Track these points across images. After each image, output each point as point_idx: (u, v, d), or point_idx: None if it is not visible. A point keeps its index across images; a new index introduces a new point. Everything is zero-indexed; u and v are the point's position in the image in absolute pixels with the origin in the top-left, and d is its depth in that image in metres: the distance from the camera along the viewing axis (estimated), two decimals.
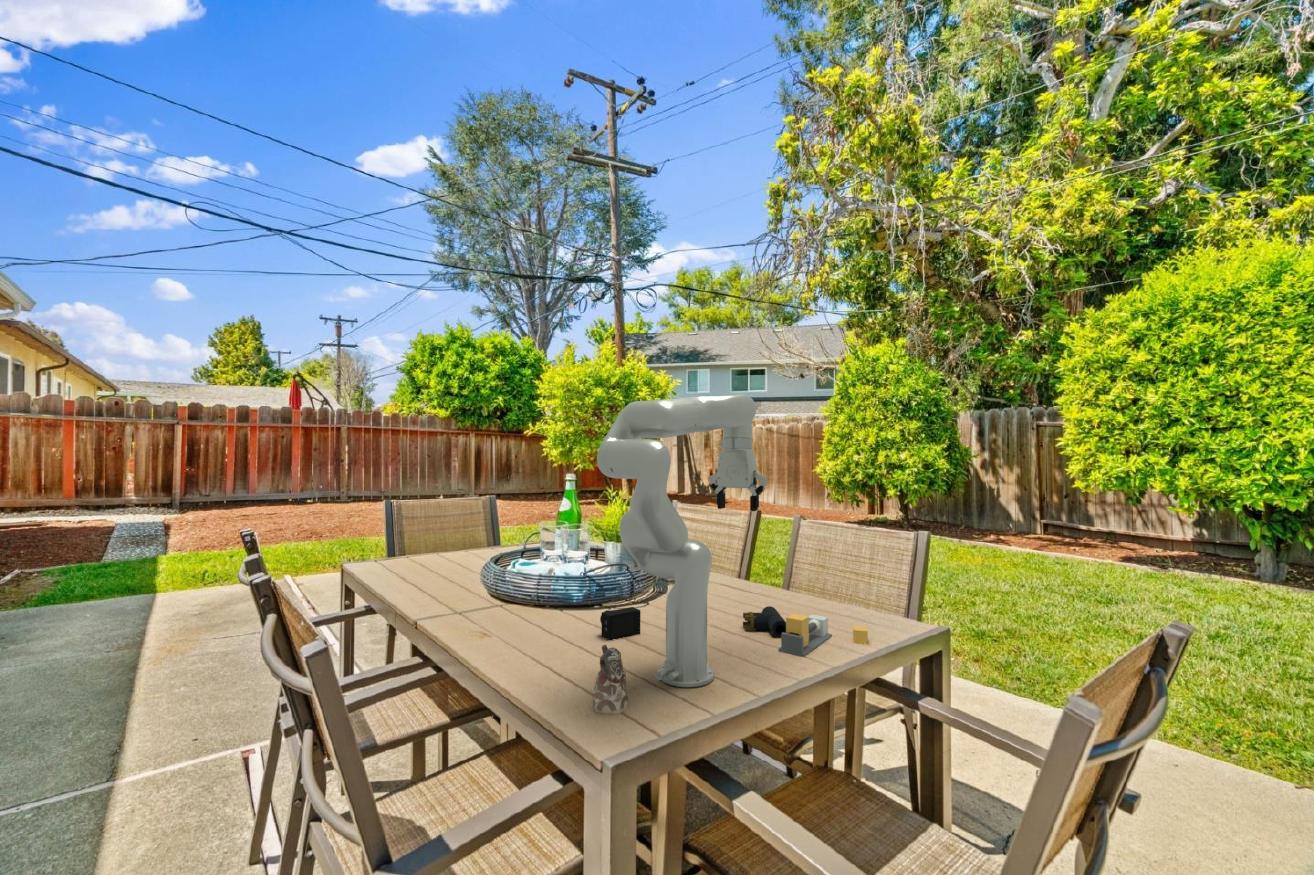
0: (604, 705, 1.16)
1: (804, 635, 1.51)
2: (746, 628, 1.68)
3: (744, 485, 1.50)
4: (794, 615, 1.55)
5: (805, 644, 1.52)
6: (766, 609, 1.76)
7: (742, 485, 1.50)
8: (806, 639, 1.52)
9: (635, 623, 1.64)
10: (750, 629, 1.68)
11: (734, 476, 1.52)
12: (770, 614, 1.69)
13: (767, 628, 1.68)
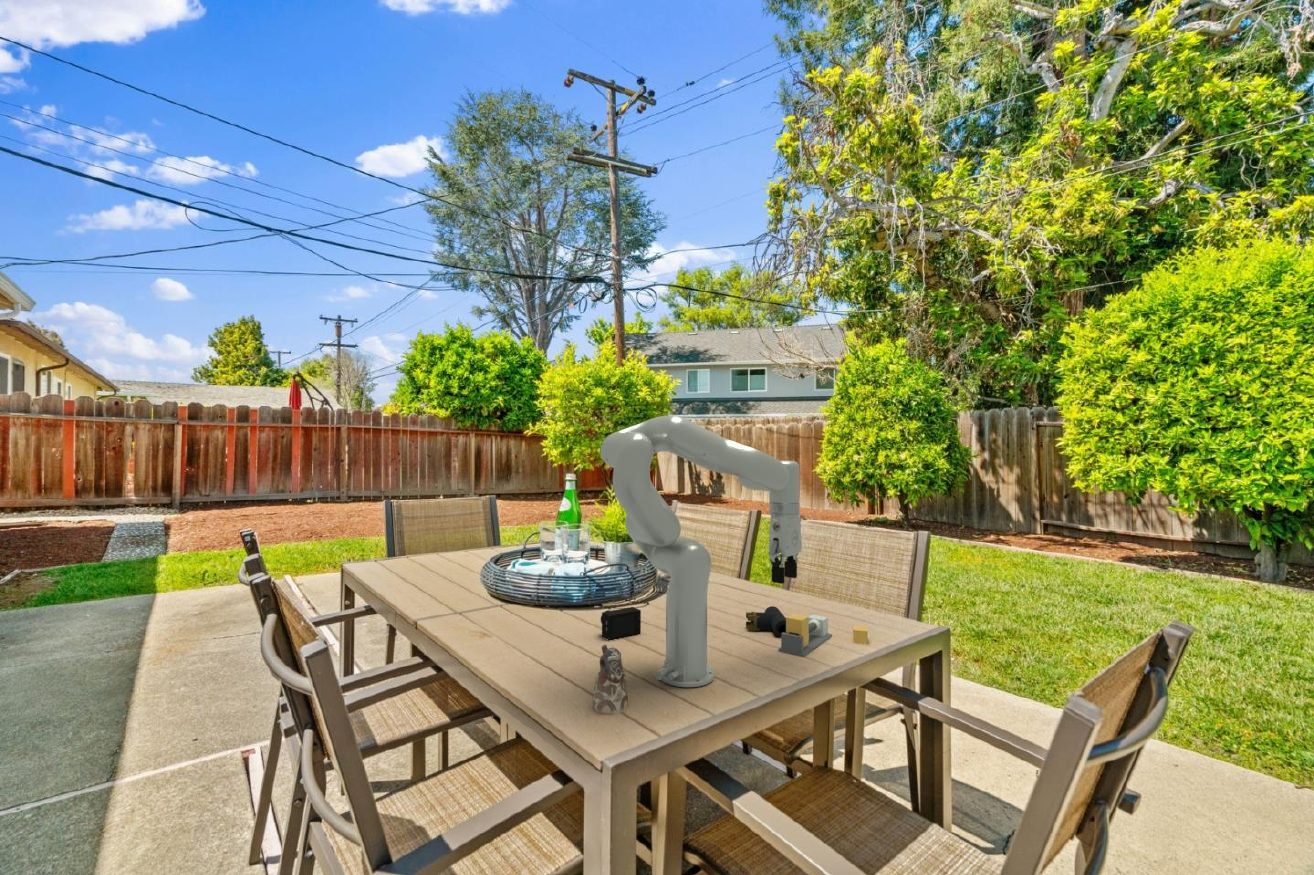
0: (604, 705, 1.16)
1: (804, 635, 1.51)
2: (749, 628, 1.68)
3: (800, 550, 1.48)
4: (794, 615, 1.55)
5: (805, 644, 1.52)
6: (769, 609, 1.76)
7: (799, 550, 1.48)
8: (806, 639, 1.52)
9: (635, 623, 1.64)
10: (753, 629, 1.68)
11: (795, 542, 1.46)
12: (773, 614, 1.69)
13: (770, 628, 1.68)
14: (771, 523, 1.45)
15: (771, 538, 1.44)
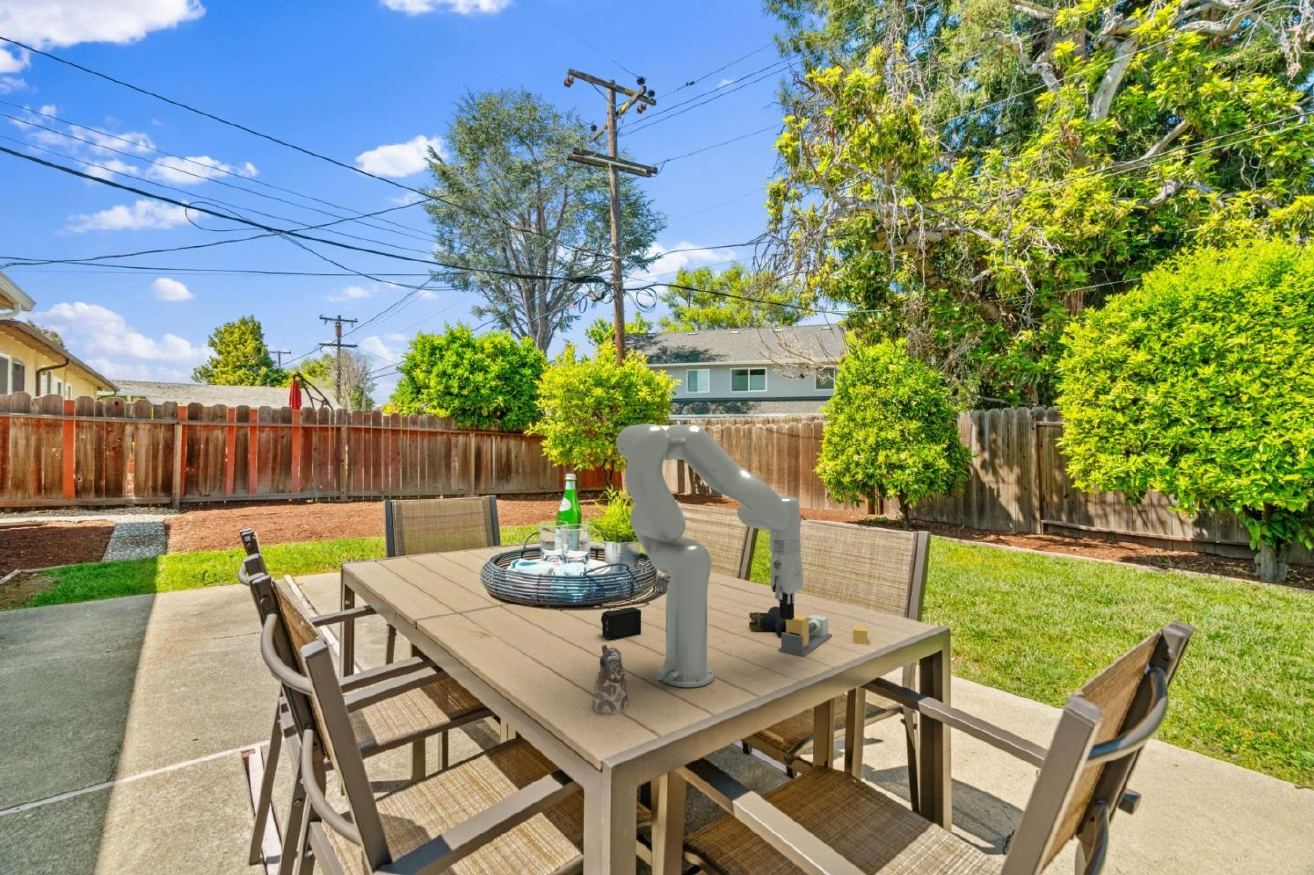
0: (604, 705, 1.16)
1: (804, 635, 1.51)
2: (752, 628, 1.68)
3: (801, 585, 1.48)
4: (794, 615, 1.55)
5: (805, 644, 1.52)
6: (773, 609, 1.75)
7: (801, 586, 1.48)
8: (806, 639, 1.52)
9: (636, 623, 1.64)
10: (756, 629, 1.68)
11: (797, 579, 1.46)
12: (777, 614, 1.69)
13: (774, 628, 1.68)
14: (772, 561, 1.44)
15: (772, 576, 1.44)
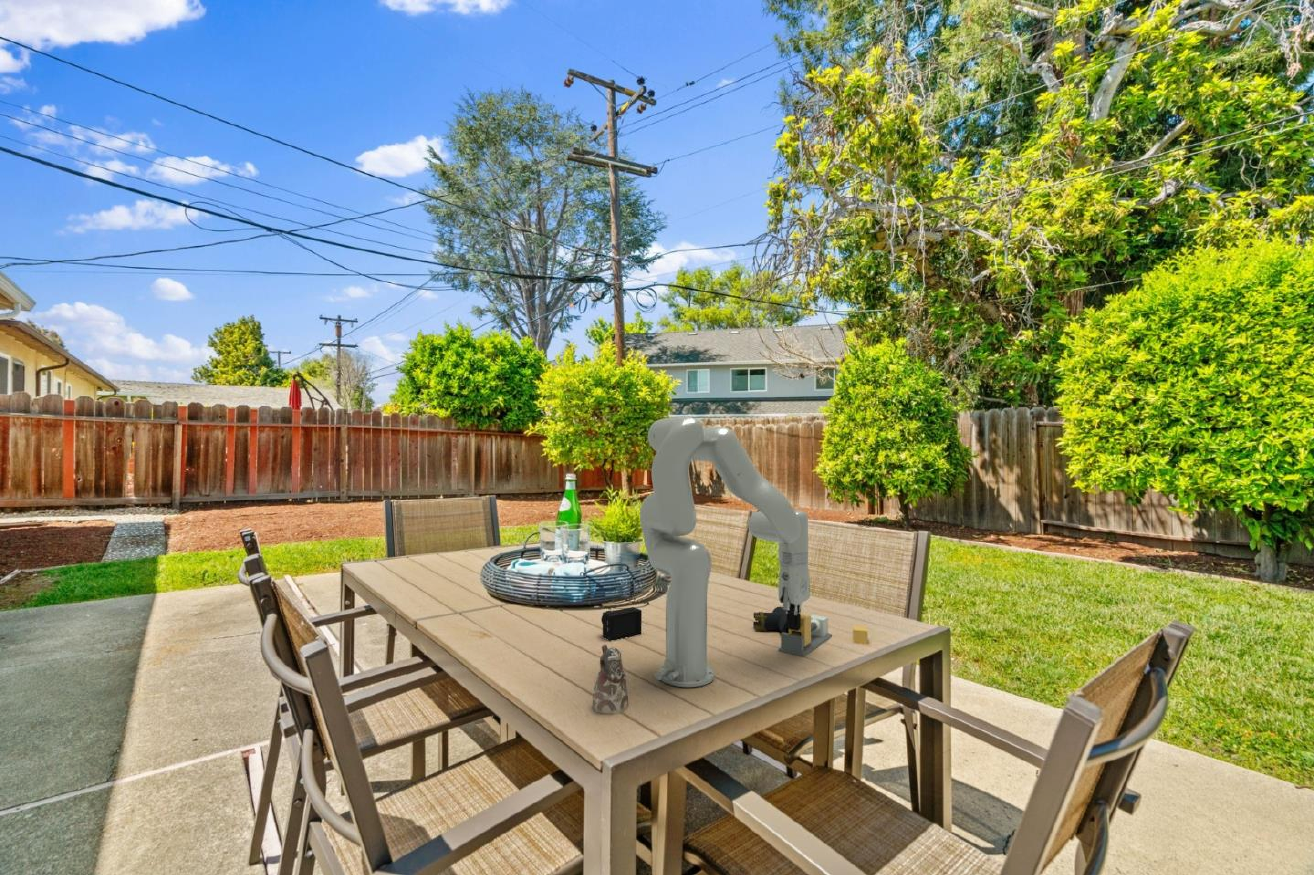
0: (604, 705, 1.16)
1: (806, 633, 1.53)
2: (756, 628, 1.68)
3: (808, 597, 1.52)
4: None
5: (807, 642, 1.53)
6: (777, 609, 1.75)
7: (807, 597, 1.52)
8: (808, 637, 1.53)
9: (636, 623, 1.64)
10: (760, 629, 1.68)
11: (804, 590, 1.50)
12: (781, 614, 1.69)
13: (777, 628, 1.68)
14: (780, 572, 1.49)
15: (780, 587, 1.48)
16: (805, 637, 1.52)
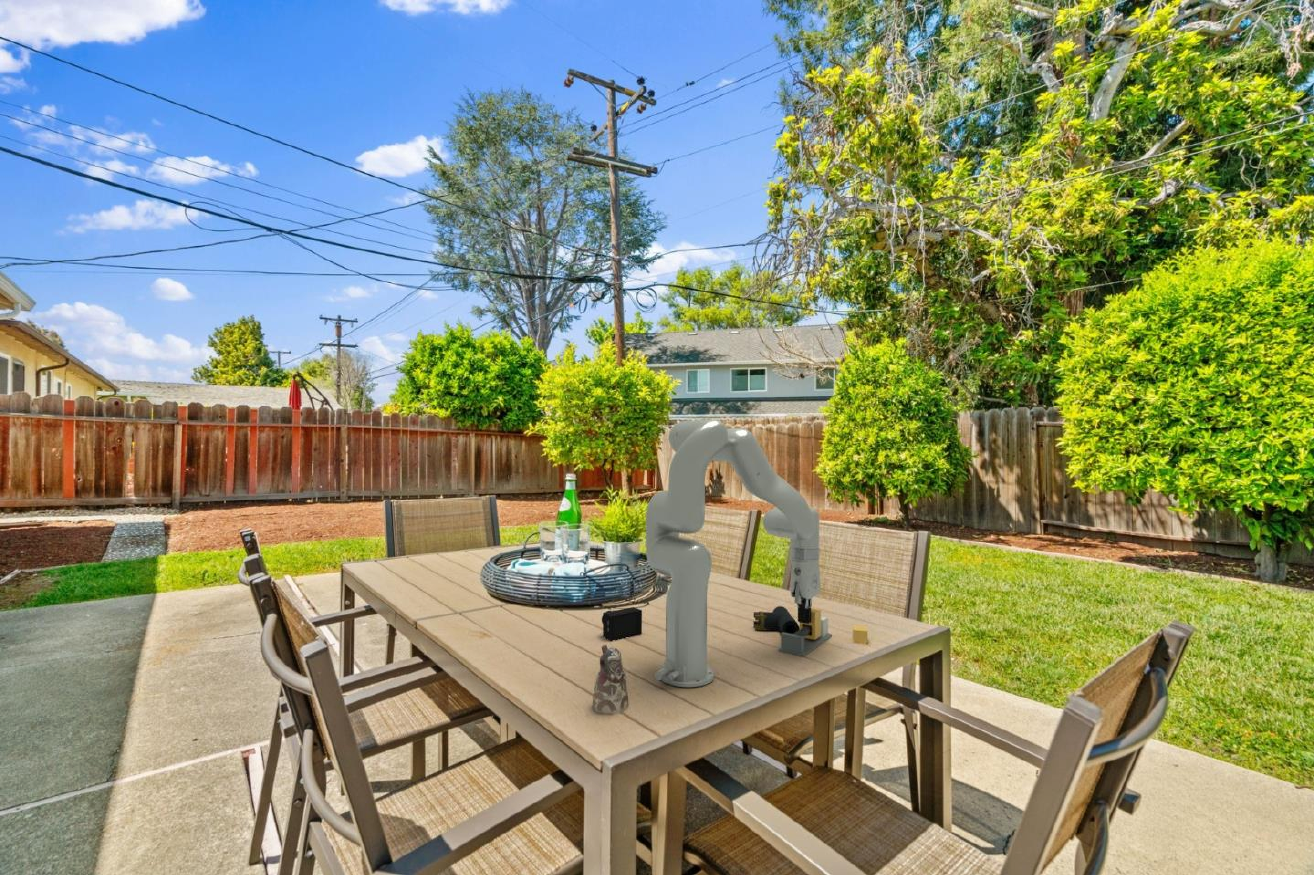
0: (604, 705, 1.16)
1: (817, 627, 1.58)
2: (756, 627, 1.68)
3: (819, 591, 1.58)
4: None
5: (818, 635, 1.59)
6: (777, 608, 1.76)
7: (818, 592, 1.58)
8: (818, 631, 1.59)
9: (637, 623, 1.64)
10: (760, 629, 1.68)
11: (815, 585, 1.56)
12: (781, 614, 1.70)
13: (777, 628, 1.68)
14: (792, 567, 1.54)
15: (792, 582, 1.54)
16: (815, 630, 1.58)
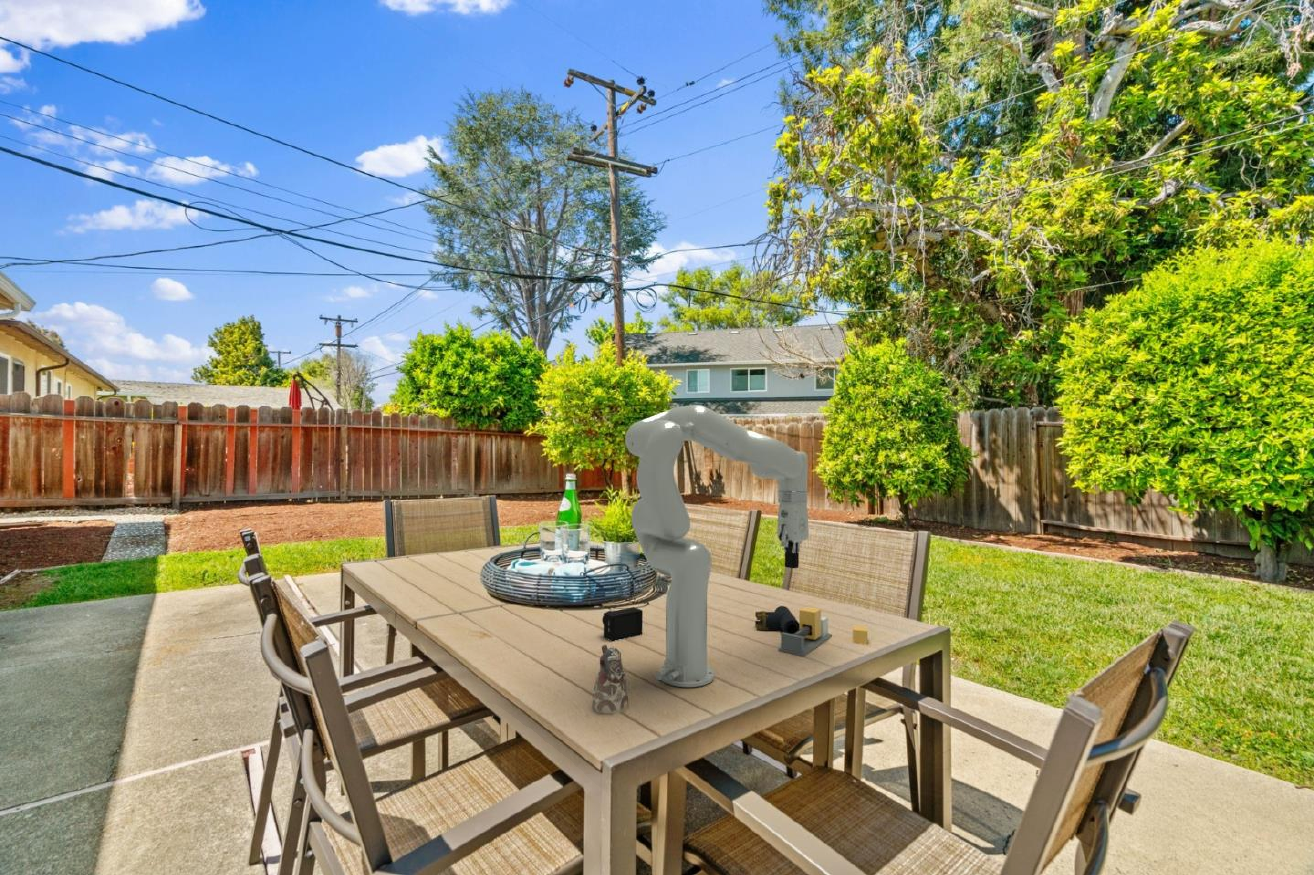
0: (604, 705, 1.16)
1: (817, 627, 1.58)
2: (758, 627, 1.69)
3: (807, 537, 1.55)
4: (807, 608, 1.62)
5: (818, 635, 1.59)
6: (779, 608, 1.76)
7: (806, 537, 1.54)
8: (818, 631, 1.59)
9: (637, 623, 1.64)
10: (762, 628, 1.69)
11: (802, 529, 1.52)
12: (782, 613, 1.70)
13: (779, 627, 1.69)
14: (780, 510, 1.51)
15: (779, 524, 1.51)
16: (815, 630, 1.58)
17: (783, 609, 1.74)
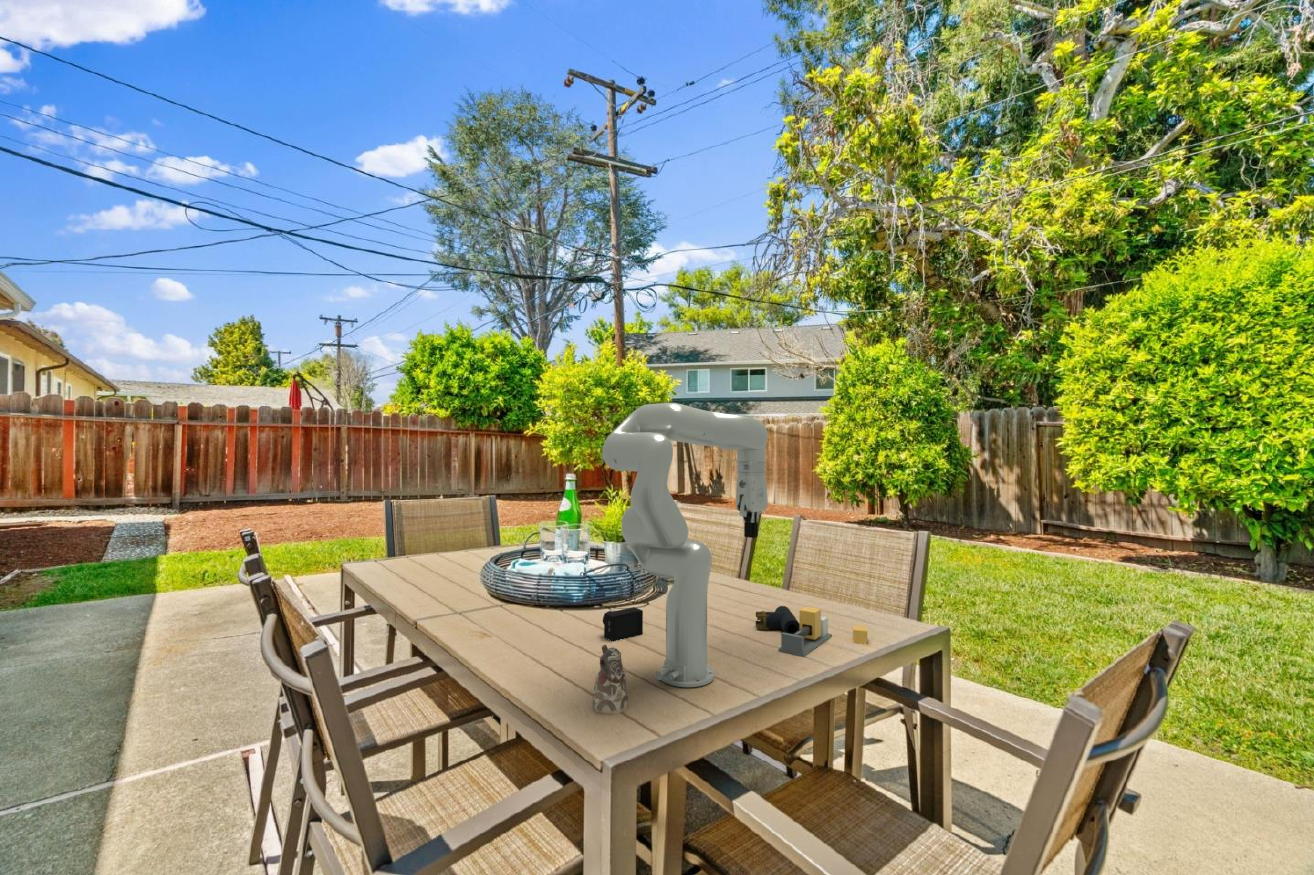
0: (604, 705, 1.16)
1: (817, 627, 1.58)
2: (758, 627, 1.69)
3: (766, 507, 1.57)
4: (807, 608, 1.62)
5: (818, 635, 1.59)
6: (780, 608, 1.76)
7: (765, 507, 1.57)
8: (818, 631, 1.59)
9: (638, 623, 1.64)
10: (762, 628, 1.69)
11: (761, 499, 1.55)
12: (783, 613, 1.70)
13: (779, 627, 1.69)
14: (738, 481, 1.54)
15: (738, 495, 1.53)
16: (815, 630, 1.58)
17: (783, 609, 1.74)
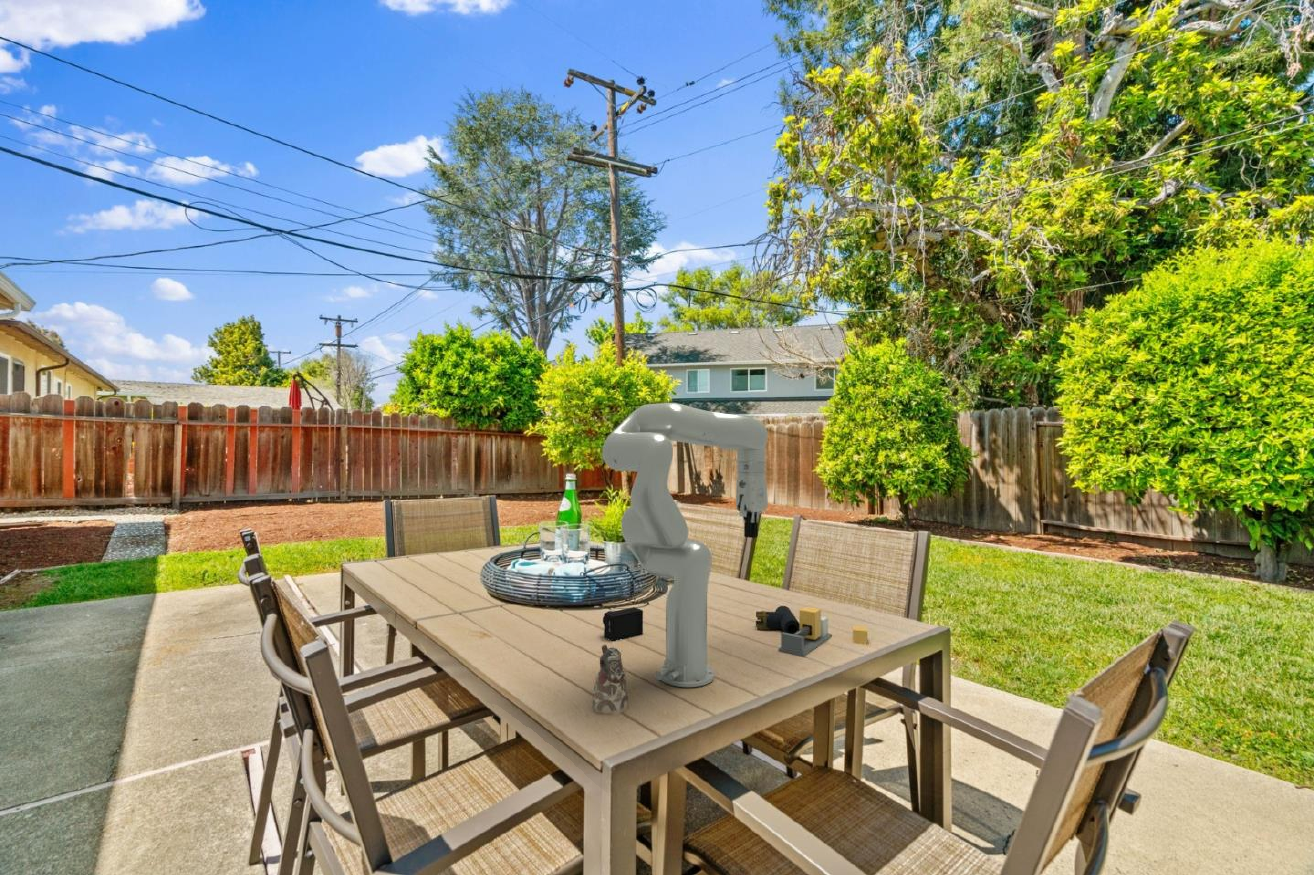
0: (604, 705, 1.16)
1: (817, 627, 1.58)
2: (758, 627, 1.69)
3: (766, 507, 1.57)
4: (807, 608, 1.62)
5: (818, 635, 1.59)
6: (780, 608, 1.76)
7: (765, 507, 1.57)
8: (818, 631, 1.59)
9: (638, 623, 1.64)
10: (762, 628, 1.69)
11: (761, 499, 1.55)
12: (783, 613, 1.70)
13: (780, 627, 1.69)
14: (738, 481, 1.54)
15: (738, 495, 1.53)
16: (815, 630, 1.58)
17: (784, 609, 1.75)
